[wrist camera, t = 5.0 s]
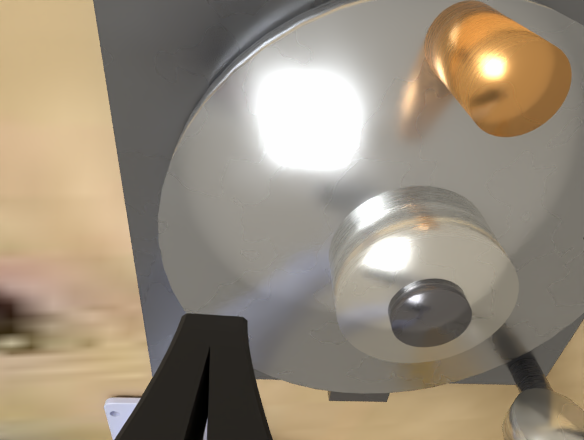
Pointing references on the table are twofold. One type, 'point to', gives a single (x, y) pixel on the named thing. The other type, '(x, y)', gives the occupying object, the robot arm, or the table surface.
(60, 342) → the table surface
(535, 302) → the platter
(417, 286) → the cover
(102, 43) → the turntable base
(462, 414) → the table surface
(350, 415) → the table surface
